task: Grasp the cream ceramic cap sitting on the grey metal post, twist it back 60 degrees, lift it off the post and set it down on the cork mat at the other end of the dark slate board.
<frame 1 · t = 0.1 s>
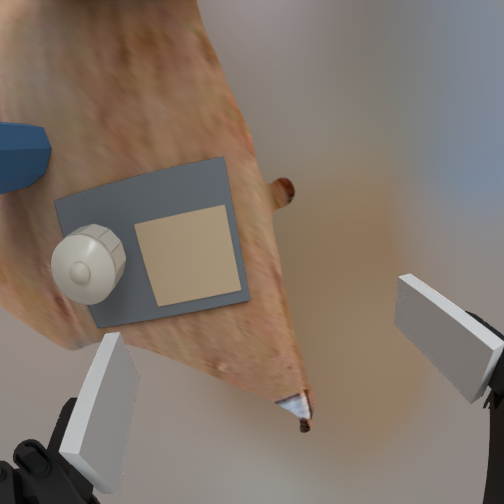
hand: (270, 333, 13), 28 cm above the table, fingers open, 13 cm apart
board: (150, 248, 39), on the table
water bottle: (27, 154, 32), on the table
cap: (95, 256, 33), point 5 cm above the table, touching board
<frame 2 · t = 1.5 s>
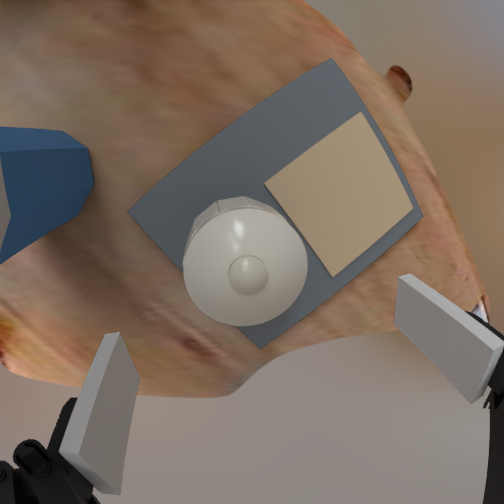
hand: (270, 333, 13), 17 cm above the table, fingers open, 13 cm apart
board: (293, 208, 29), on the table
water bottle: (55, 177, 24), on the table
cap: (238, 248, 24), point 5 cm above the table, touching board
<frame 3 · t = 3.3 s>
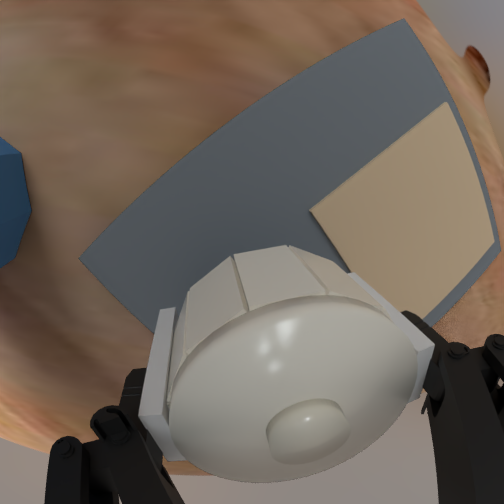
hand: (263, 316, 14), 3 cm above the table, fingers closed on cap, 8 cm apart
board: (350, 247, 18), on the table
cap: (271, 336, 12), point 5 cm above the table, touching board, gripper
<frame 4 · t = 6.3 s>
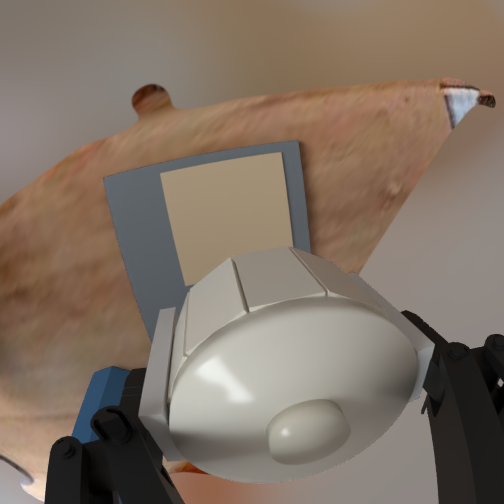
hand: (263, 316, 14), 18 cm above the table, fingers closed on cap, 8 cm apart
board: (219, 265, 33), on the table
water bottle: (121, 389, 36), on the table
cap: (271, 337, 13), point 20 cm above the table, touching gripper
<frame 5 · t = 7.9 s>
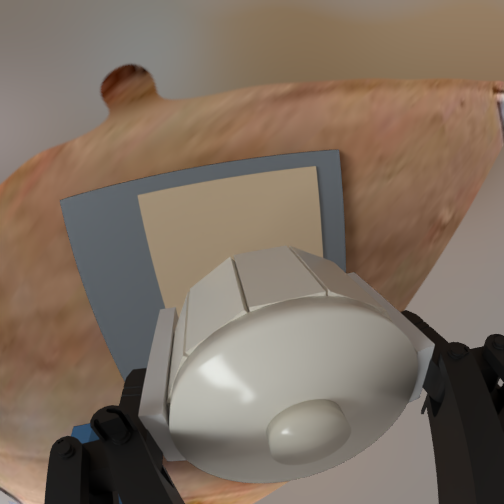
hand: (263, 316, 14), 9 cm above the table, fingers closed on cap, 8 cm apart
board: (223, 319, 24), on the table
water bottle: (106, 444, 27), on the table
cap: (271, 337, 12), point 10 cm above the table, touching gripper
when the fingers open (2 cm above the table, at t = 9.3 s): cap drops 2 cm, resting on board.
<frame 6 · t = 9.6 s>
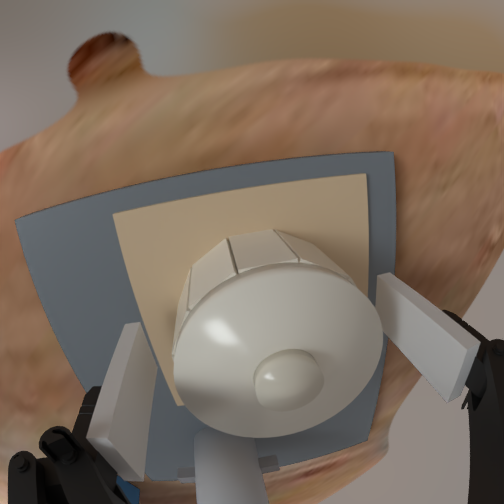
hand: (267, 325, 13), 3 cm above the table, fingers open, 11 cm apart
board: (235, 370, 18), on the table
water bottle: (101, 483, 22), on the table
cap: (261, 309, 15), point 1 cm above the table, touching board
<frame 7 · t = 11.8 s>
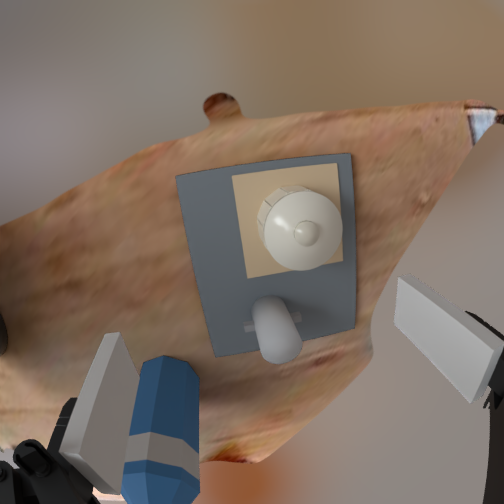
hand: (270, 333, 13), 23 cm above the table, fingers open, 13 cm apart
board: (277, 260, 37), on the table
water bottle: (168, 378, 41), on the table
cap: (292, 221, 34), point 1 cm above the table, touching board
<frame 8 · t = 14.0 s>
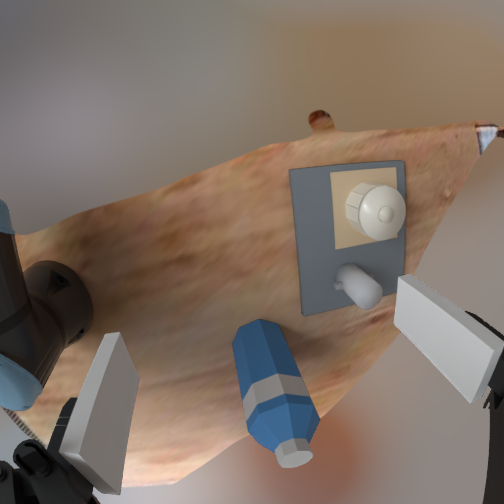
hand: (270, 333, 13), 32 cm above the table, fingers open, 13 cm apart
board: (353, 236, 47), on the table
water bottle: (258, 340, 51), on the table
cap: (367, 207, 44), point 1 cm above the table, touching board
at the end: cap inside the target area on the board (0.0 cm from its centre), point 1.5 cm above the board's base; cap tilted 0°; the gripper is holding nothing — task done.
